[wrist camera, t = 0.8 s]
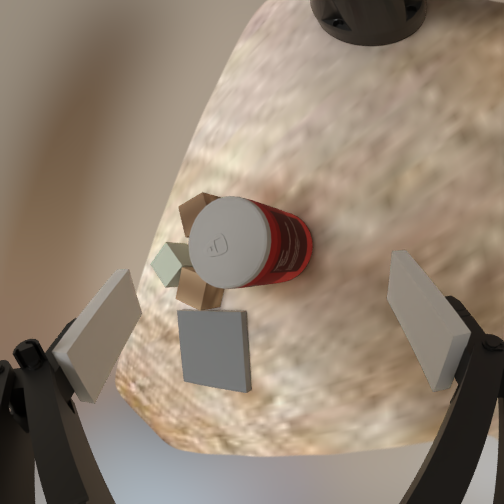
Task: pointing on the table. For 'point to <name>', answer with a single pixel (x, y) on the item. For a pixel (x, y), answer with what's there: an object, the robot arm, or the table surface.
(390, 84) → the table surface
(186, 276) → the teak block
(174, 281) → the sage painted block
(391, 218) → the table surface
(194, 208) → the walnut block
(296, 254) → the canned food
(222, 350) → the plate
